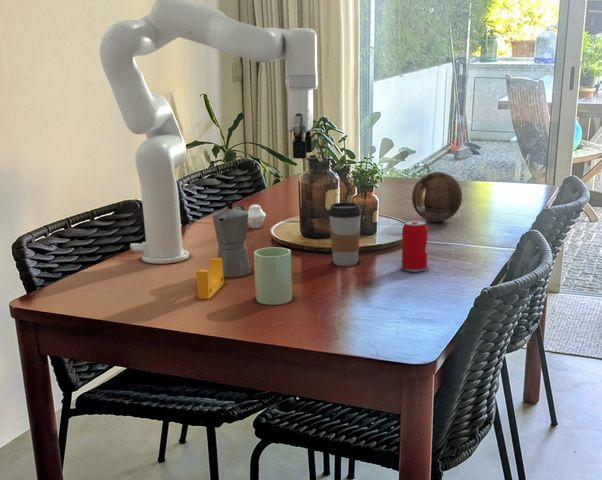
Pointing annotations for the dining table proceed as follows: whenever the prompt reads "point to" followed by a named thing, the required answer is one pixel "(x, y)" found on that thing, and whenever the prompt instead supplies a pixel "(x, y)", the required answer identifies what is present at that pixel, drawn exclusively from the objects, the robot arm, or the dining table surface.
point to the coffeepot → (232, 240)
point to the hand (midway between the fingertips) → (302, 155)
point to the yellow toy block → (210, 279)
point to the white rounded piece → (255, 216)
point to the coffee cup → (345, 232)
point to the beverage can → (414, 245)
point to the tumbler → (273, 275)
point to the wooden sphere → (437, 196)
